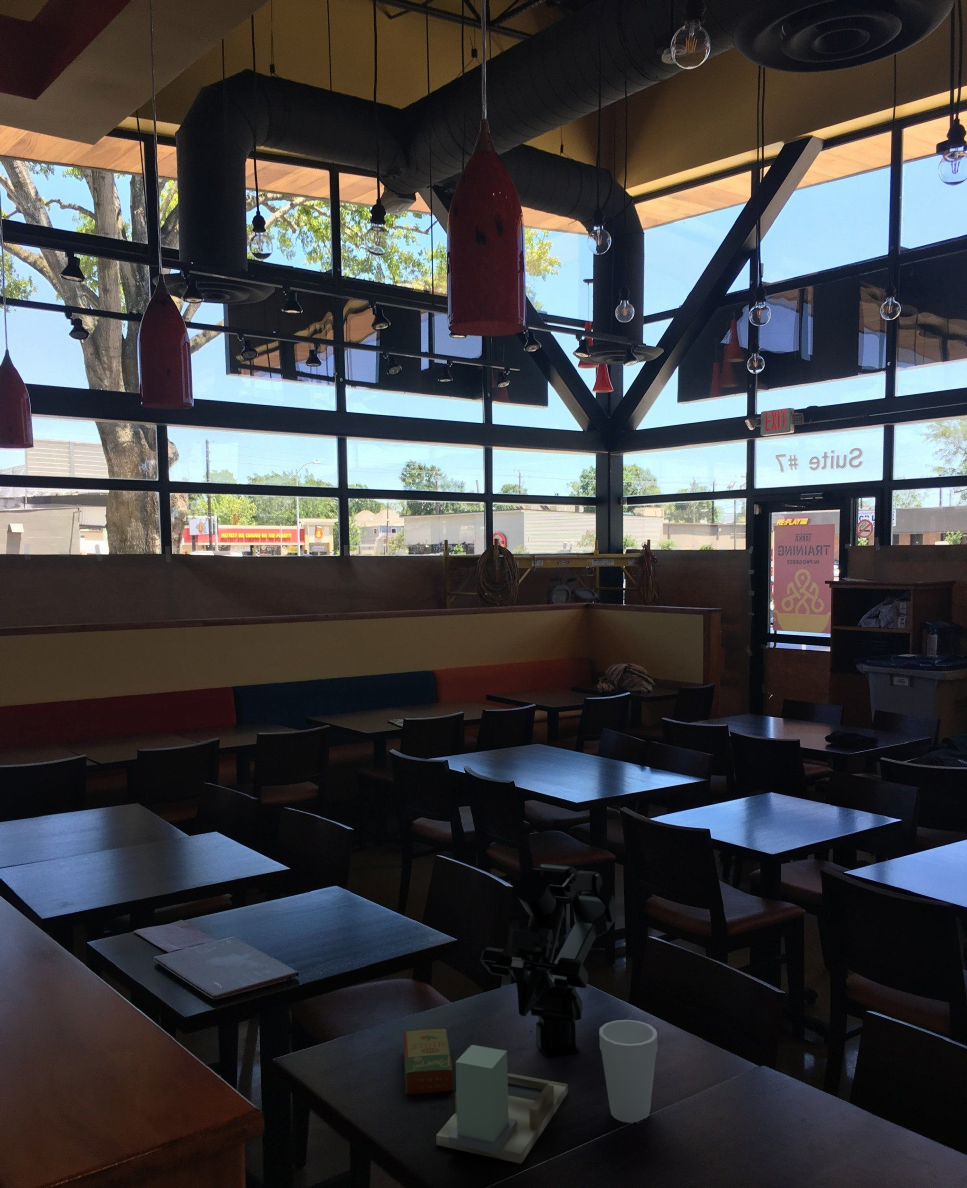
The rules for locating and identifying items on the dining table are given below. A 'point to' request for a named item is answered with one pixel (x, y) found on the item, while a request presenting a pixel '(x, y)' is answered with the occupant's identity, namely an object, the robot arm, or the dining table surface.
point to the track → (518, 1116)
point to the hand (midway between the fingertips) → (521, 1015)
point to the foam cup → (629, 1067)
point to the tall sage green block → (482, 1100)
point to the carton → (427, 1061)
